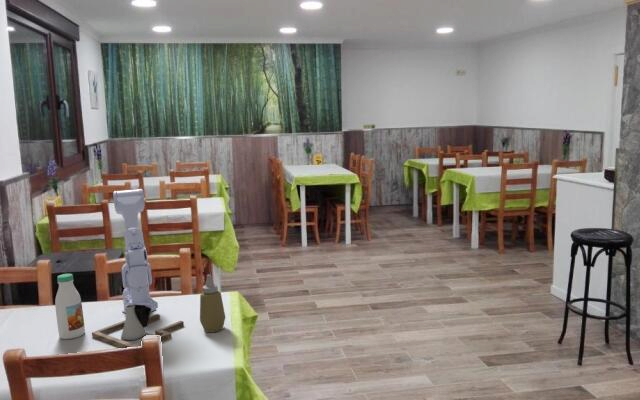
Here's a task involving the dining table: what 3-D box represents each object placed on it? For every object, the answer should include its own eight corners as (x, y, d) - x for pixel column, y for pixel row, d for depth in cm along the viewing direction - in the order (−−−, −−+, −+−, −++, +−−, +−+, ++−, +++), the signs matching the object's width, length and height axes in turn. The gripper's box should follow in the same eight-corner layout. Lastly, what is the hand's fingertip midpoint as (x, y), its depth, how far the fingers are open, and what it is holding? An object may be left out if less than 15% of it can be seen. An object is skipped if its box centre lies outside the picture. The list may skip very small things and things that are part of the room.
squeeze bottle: (202, 325, 182) (197, 272, 179) (227, 323, 182) (223, 270, 180) (199, 335, 174) (194, 279, 171) (225, 333, 174) (220, 277, 172)
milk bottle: (59, 341, 174) (51, 280, 171) (58, 333, 181) (51, 274, 178) (86, 336, 177) (79, 275, 174) (84, 328, 184) (77, 270, 181)
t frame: (92, 337, 177) (91, 332, 176) (149, 315, 193) (148, 311, 193) (135, 353, 163) (135, 348, 163) (192, 328, 180) (192, 324, 179)
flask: (137, 341, 171) (133, 311, 169) (116, 340, 173) (112, 309, 171) (149, 331, 178) (146, 302, 176) (129, 330, 180) (126, 301, 178)
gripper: (114, 285, 177) (119, 326, 179) (142, 292, 169) (146, 335, 171) (133, 279, 183) (138, 319, 185) (161, 286, 174) (165, 327, 176)
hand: (143, 326), depth 178 cm, fingers closed, pressing on flask
